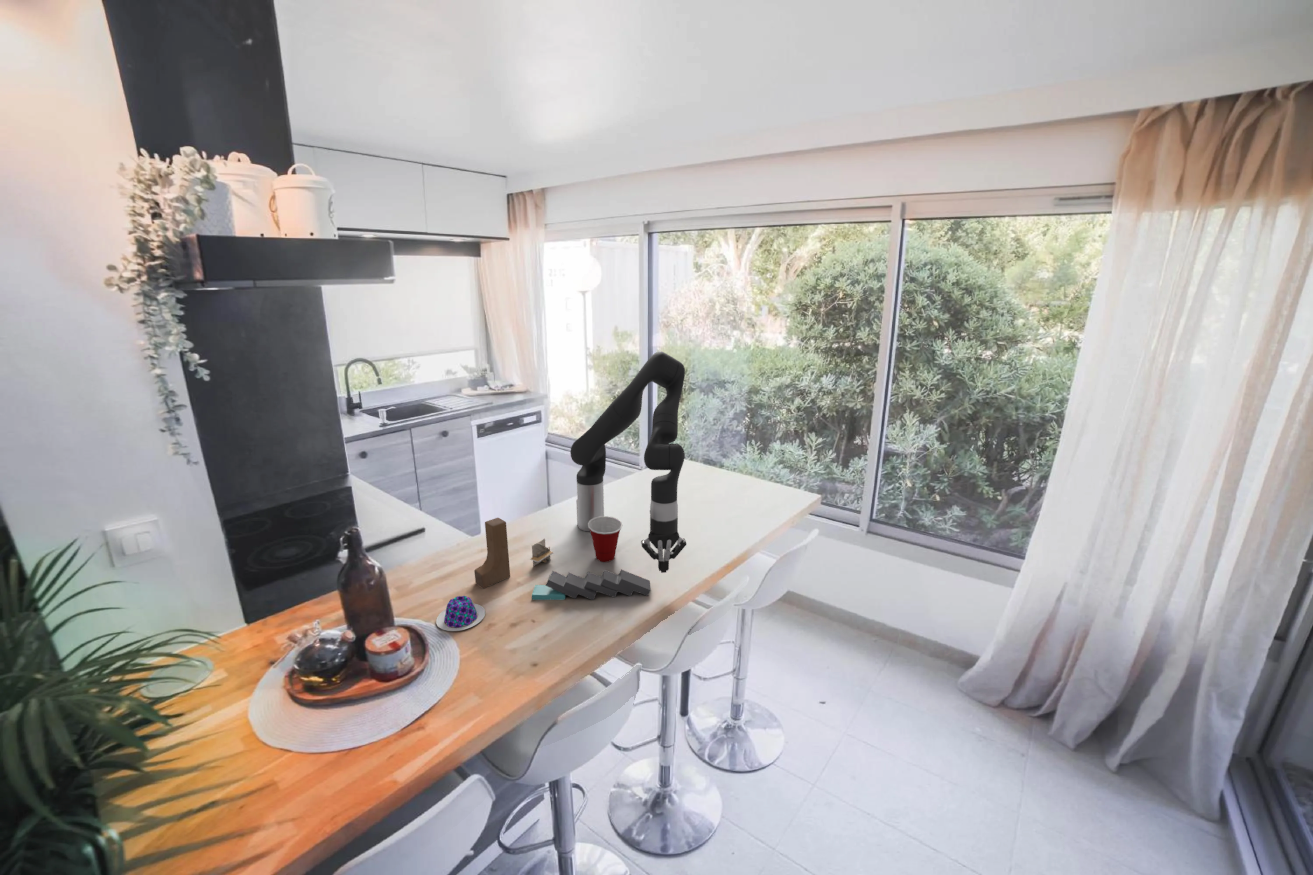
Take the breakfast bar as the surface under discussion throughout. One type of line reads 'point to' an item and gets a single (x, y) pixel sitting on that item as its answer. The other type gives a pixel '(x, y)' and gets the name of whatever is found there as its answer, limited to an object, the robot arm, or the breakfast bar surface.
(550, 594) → the domino
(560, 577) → the domino
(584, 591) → the domino
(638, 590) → the domino
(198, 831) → the breakfast bar surface
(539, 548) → the architectural model
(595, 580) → the domino
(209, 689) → the breakfast bar surface
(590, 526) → the plastic cup
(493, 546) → the wooden block
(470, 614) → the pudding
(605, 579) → the domino
